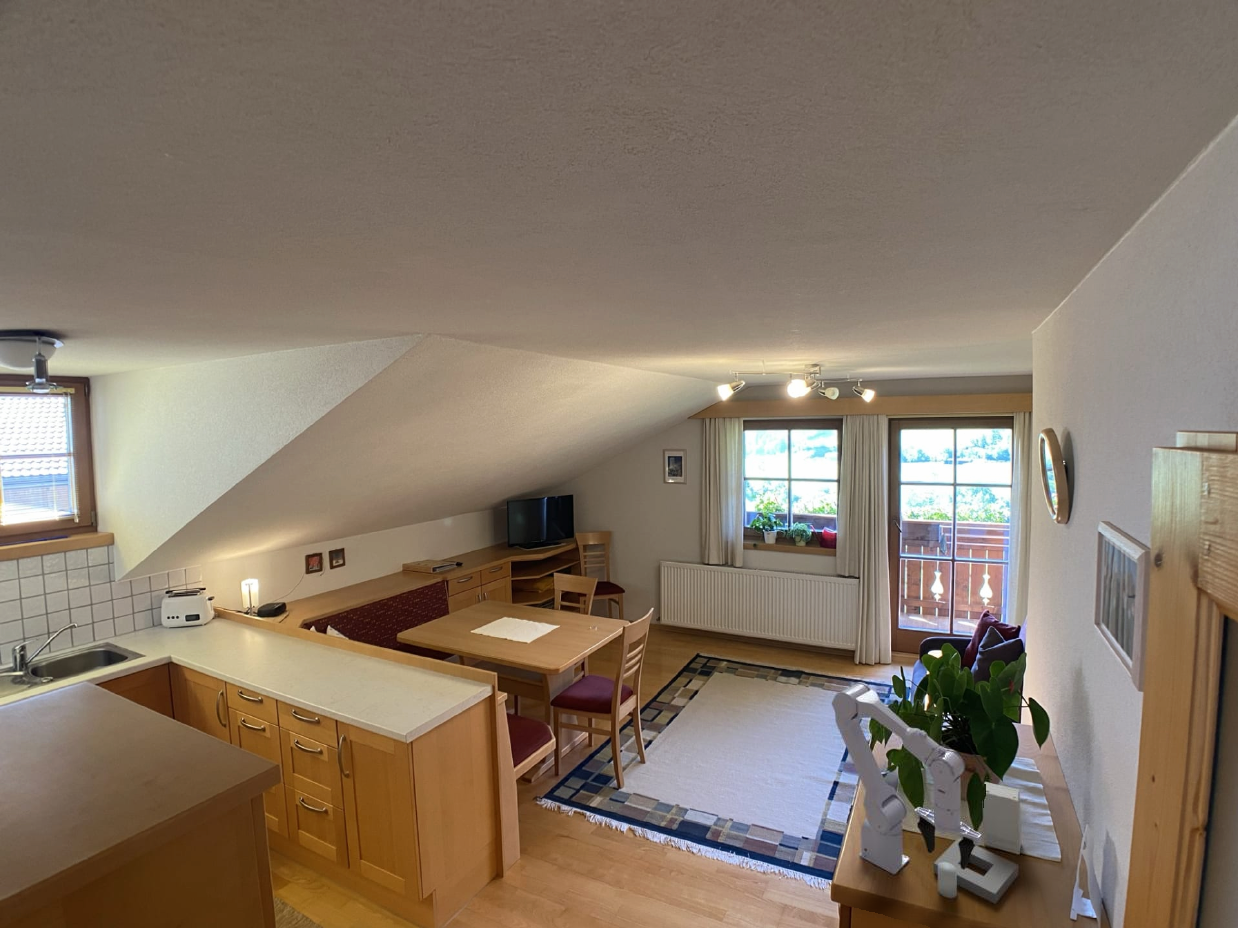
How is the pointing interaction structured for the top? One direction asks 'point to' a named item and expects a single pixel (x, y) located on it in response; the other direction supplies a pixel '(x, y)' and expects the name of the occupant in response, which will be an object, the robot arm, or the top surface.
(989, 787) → the skincare box
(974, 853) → the dock
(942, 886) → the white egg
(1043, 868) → the top surface
